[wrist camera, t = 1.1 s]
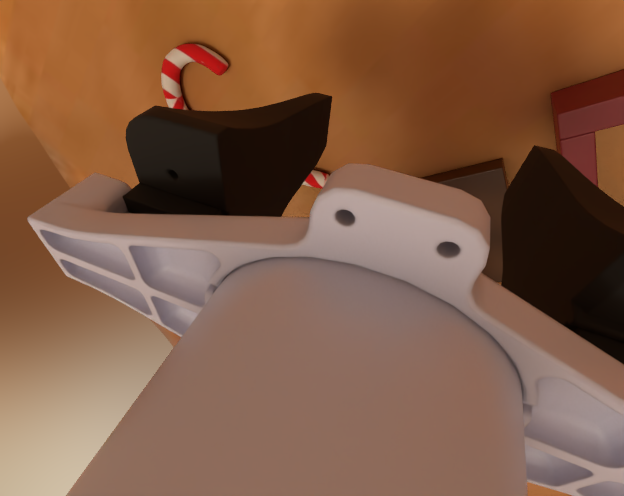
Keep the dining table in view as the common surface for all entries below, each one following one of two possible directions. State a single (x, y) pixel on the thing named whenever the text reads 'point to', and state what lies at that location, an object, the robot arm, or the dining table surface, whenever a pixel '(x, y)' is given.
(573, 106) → the square frame
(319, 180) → the candy cane
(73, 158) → the dining table surface
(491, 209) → the stand
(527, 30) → the dining table surface
